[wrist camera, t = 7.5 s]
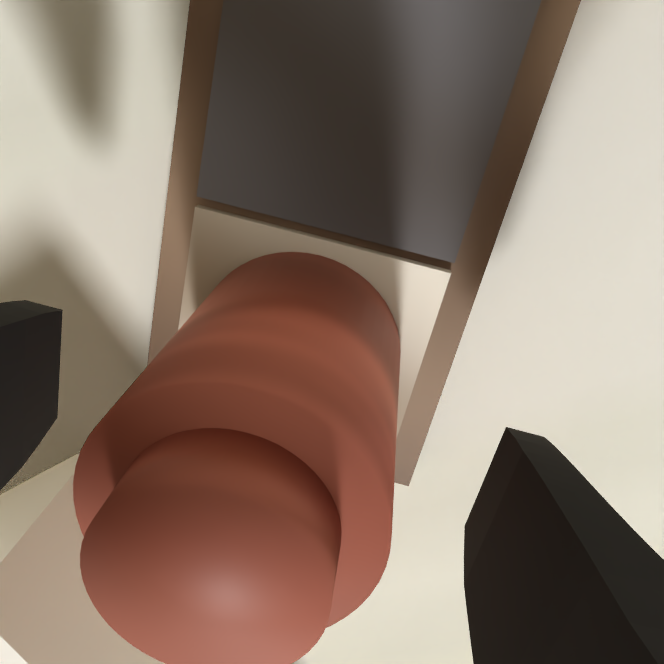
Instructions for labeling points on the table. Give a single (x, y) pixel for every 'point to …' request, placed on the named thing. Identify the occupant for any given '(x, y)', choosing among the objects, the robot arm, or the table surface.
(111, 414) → the pawn
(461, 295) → the board
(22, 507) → the die
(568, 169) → the table surface
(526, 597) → the robot arm
